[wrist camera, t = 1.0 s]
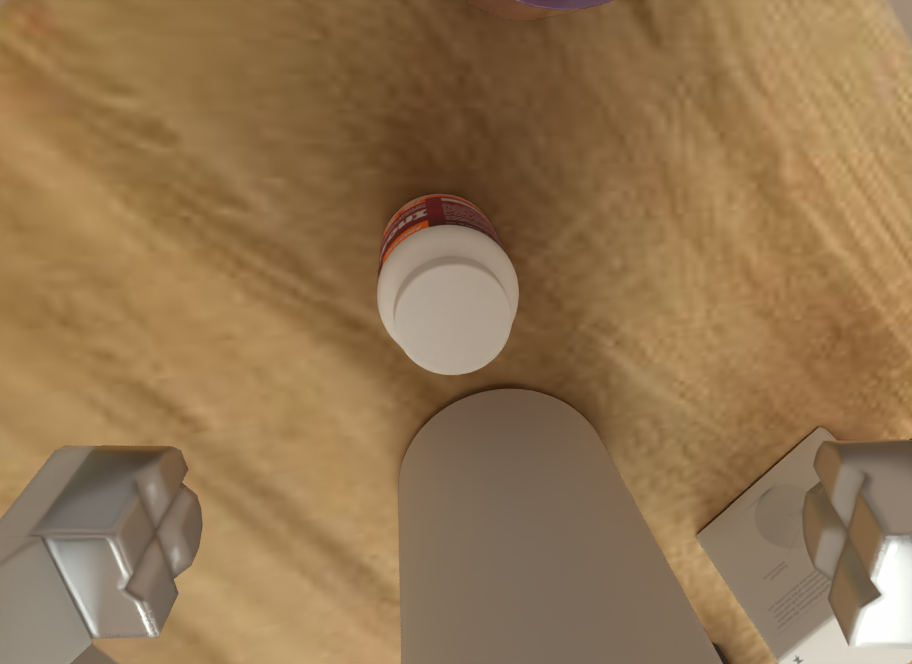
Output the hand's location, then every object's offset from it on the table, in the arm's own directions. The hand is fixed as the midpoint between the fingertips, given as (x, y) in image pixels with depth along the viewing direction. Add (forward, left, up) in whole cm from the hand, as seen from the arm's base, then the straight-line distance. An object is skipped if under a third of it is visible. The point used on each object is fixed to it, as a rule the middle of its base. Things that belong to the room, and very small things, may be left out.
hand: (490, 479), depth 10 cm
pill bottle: (+4, -1, -30) cm, 31 cm away
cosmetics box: (+30, +9, -30) cm, 44 cm away
